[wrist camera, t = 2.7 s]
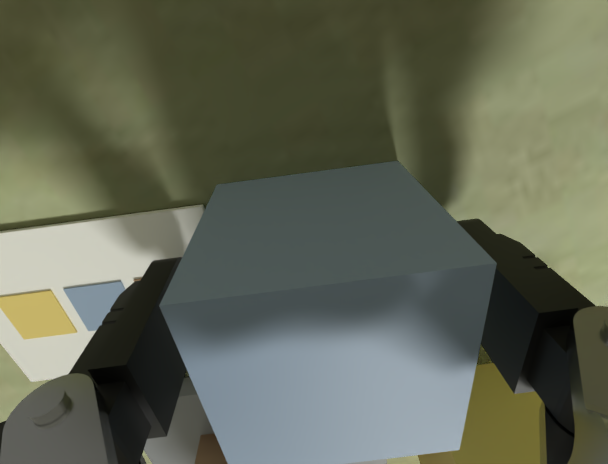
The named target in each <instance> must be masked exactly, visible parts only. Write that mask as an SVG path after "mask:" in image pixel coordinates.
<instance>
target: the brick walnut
mask: <svg viewBox="0 0 608 464" xmlns="http://www.w3.org/2000/svg"><path fill="white" fill-rule="evenodd" d="M195 464H228V463H227V461H226V459H225V456H224V454H223V452H222V449H221V447H220V445H219V442H218V440H217V438H216V436H215V433H214V434H206V435H201V436H200V441H199V446H198V450H197V455H196V460H195Z"/></svg>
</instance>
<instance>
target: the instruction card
mask: <svg viewBox="0 0 608 464" xmlns="http://www.w3.org/2000/svg"><path fill="white" fill-rule="evenodd" d="M204 211H205V208H204V205H203V204H202V205H194V206H187V207H179V208H172V209H164V210H157V211H149V212H141V213H134V214H126V215H119V216H111V217H104V218H96V219H89V220H81V221H74V222H66V223H59V224H51V225H44V226H36V227H29V228H21V229H14V230H6V231H0V344H1V345H2V346H3V347H4V349H5V350H6V351H7V352H8V353H9V355H10V356H11V357H12V358H13V360H14V361H15V362H16V363H17V365H18V366H19V367H20V368H21V370H22V371H23V372H24V373H25V375H26V376H27V377H28V378H29V380H30V381H31V382H33V381H41V380H49V379H55V378H57V377H60V376H63V375H67V374H69V372H70V371H71V369H72V368H73V366H74V365H75V363H76V361H77V360H78V358H79V357H80V355H81V354H82V352H83V351H84V349H85V347H86V346H87V344H88V343H89V341H90V340H91V338H92V337H93V335H94V334H95V332H96V330H97V329H98V327H99V326H100V325H102V321H103V320H104V318H105V316H106V315H107V313H109V312H110V309H111V307H112V306H113V304H114V303H115V301H116V299H117V298H118V296H119V295H120V294H121V293H122V292H123V291H124V290H126V289H127V288H128V287H129V286H130V285H131V284H132V283H134V282H135V281H139V280H141V279H142V277H143V275H144V274H145V272H146V270H147V269H148V267H149V265H150V264H151V262H152V261H154V260H161V259H169V258H176V257H183V255H184V253H185V251H186V248H187V246H188V244H189V242H190V240H191V238H192V236H193V234H194V232H195V230H196V227H197V225H198V223H199V221H200V219H201V217H202V215H203V213H204Z"/></svg>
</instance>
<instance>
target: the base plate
mask: <svg viewBox="0 0 608 464" xmlns="http://www.w3.org/2000/svg"><path fill="white" fill-rule="evenodd" d="M206 434H214V431H213V429H212V426H211V424H210V422H209V419H208V417H207V415H206V413H205V410H204V408H203V406H202V403H201V401H200V399H199V396H198V394H197V392H196V390H195V387H194V385H193V383H192V380H191V378H190V377H185V378H184V380H183V383H182V387H181V390H180V393H179V397H178V400H177V404H176V407H175V410H174V414H173V417H172V421H171V424H170V428H169V431H168V434H167V437H159V438H151V439H147V441H146V444H145V447H144V451H145V453H146V454H147V456H148V457H149V459H150V460H151V462H152V463H153V464H195V460H196V455H197V450H198V446H199V441H200V436H201V435H206ZM347 464H387V459H380V460H372V461H363V462H355V463H347Z"/></svg>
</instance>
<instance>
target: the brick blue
mask: <svg viewBox="0 0 608 464" xmlns="http://www.w3.org/2000/svg"><path fill="white" fill-rule="evenodd" d="M496 265H497V263H496V262H495V261H494V260H493V259H492V258H491V257H490V256H489V255H488V254H487V253H486V251H485V250H484V249H483V248H482V247H481V246H480V245H479V244H478V243H477V242H476V241H475V240H474V239H473V238H472V237H471V236H470V235H469V234H468V233H467V232H466V231H465V230H464V229H463V228H462V227H461V226H460V225H459V224H458V223H457V222H456V220H455V219H454V218H453V217H452V216H451V215H450V214H449V213H448V212H447V211H446V210H445V209H444V208H443V207H442V206H441V205H440V204H439V203H438V202H437V201H436V200H435V199H434V198H433V197H432V196H431V195H430V194H429V193H428V192H427V191H426V190H425V188H424V187H423V186H422V185H421V184H420V183H419V182H418V181H417V180H416V179H415V178H414V177H413V176H412V175H411V174H410V173H409V172H408V171H407V170H406V169H405V168H404V167H403V166H402V165H401V164H400V163H399V162H398V161H392V162H385V163H377V164H369V165H362V166H354V167H346V168H339V169H331V170H324V171H316V172H308V173H301V174H293V175H286V176H278V177H270V178H263V179H255V180H248V181H240V182H232V183H225V184H217V185H216V188H215V190H214V192H213V194H212V196H211V198H210V200H209V202H208V204H207V206H206V209H205V211H204V213H203V215H202V217H201V219H200V221H199V223H198V225H197V227H196V230H195V232H194V234H193V236H192V238H191V240H190V242H189V244H188V246H187V248H186V251H185V253H184V255H183V257H182V259H181V261H180V263H179V265H178V267H177V269H176V272H175V274H174V276H173V278H172V280H171V282H170V284H169V286H168V288H167V290H166V293H165V295H164V297H163V299H162V301H161V303H160V305H159V307H160V309H161V311H162V314H163V316H164V318H165V321H166V323H167V325H168V327H169V330H170V332H171V334H172V337H173V339H174V341H175V344H176V346H177V348H178V350H179V353H180V355H181V357H182V360H183V362H184V364H185V367H186V369H187V371H188V373H189V376H190V378H191V380H192V383H193V385H194V387H195V390H196V392H197V394H198V396H199V399H200V401H201V403H202V406H203V408H204V410H205V413H206V415H207V417H208V419H209V422H210V424H211V426H212V429H213V431H214V433H215V436H216V438H217V440H218V442H219V445H220V447H221V449H222V452H223V454H224V456H225V459H226V461H227V463H228V464H347V463H355V462H363V461H372V460H380V459H389V458H397V457H405V456H414V455H422V454H430V453H439V452H447V451H455V450H460V445H461V440H462V435H463V430H464V425H465V420H466V415H467V410H468V405H469V400H470V395H471V390H472V385H473V380H474V375H475V370H476V365H477V360H478V355H479V350H480V345H481V340H482V335H483V330H484V325H485V320H486V315H487V310H488V305H489V300H490V295H491V290H492V285H493V280H494V275H495V270H496Z"/></svg>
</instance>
